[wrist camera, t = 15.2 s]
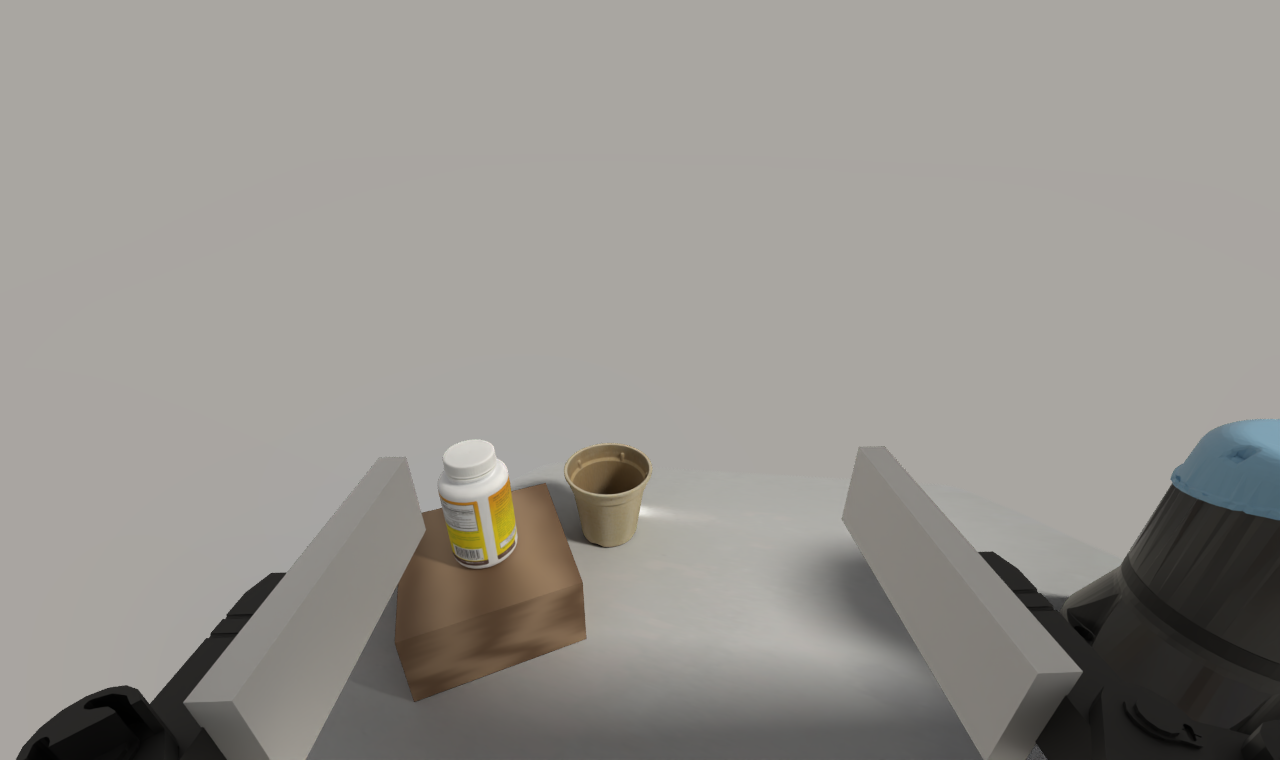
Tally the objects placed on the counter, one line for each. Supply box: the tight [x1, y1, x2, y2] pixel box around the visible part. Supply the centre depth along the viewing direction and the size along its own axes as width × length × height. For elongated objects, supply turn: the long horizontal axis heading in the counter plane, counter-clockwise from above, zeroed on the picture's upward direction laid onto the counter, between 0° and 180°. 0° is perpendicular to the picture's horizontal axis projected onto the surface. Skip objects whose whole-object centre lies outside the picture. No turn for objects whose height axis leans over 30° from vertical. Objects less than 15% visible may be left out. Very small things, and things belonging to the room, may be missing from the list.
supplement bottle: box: [438, 440, 518, 569], centre depth 40 cm, size 6×6×10 cm
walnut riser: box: [395, 483, 586, 702], centre depth 44 cm, size 14×14×7 cm
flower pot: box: [564, 443, 652, 547], centre depth 52 cm, size 9×9×9 cm
